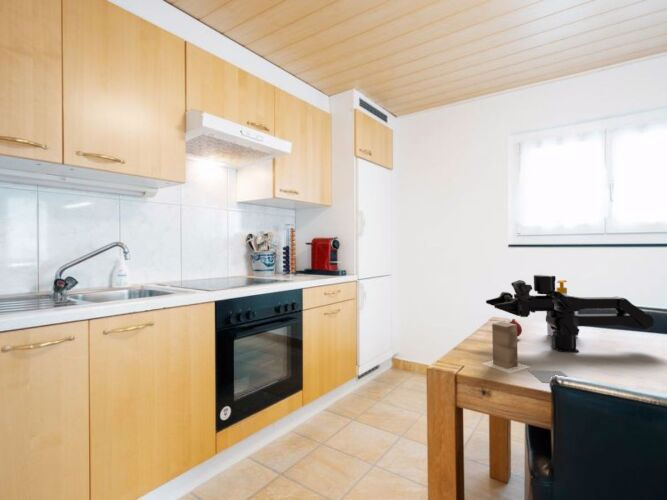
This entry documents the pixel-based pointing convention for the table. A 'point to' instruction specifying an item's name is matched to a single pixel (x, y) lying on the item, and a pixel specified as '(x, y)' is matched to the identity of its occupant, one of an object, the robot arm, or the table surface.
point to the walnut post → (505, 345)
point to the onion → (517, 327)
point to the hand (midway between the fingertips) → (490, 303)
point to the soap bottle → (564, 292)
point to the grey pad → (546, 375)
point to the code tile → (510, 370)
